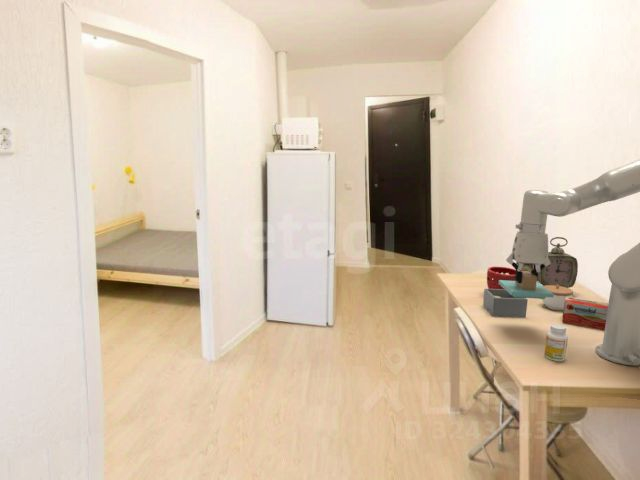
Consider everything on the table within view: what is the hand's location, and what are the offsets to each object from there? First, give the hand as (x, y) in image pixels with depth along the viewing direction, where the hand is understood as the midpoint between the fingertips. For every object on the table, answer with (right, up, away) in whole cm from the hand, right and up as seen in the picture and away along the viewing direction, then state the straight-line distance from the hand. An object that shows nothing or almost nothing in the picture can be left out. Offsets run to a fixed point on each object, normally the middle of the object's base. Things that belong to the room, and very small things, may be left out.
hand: (525, 281), depth 142 cm
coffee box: (+31, -6, +63) cm, 71 cm away
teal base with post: (0, -4, +1) cm, 4 cm away
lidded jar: (+24, -13, +26) cm, 38 cm away
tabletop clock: (+34, -9, +46) cm, 58 cm away
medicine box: (+27, -16, +10) cm, 33 cm away
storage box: (+2, -13, +21) cm, 25 cm away
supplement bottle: (0, -21, -17) cm, 27 cm away
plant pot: (+8, -11, +39) cm, 41 cm away
